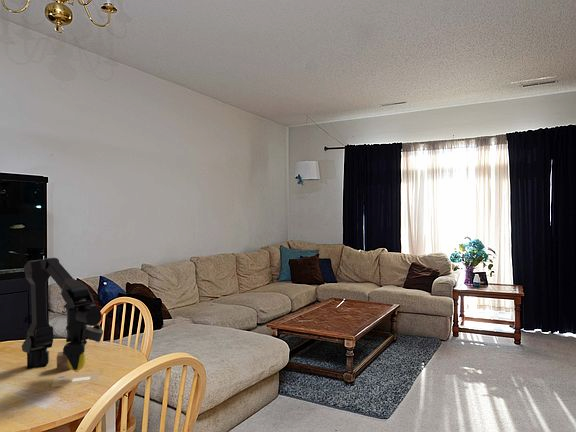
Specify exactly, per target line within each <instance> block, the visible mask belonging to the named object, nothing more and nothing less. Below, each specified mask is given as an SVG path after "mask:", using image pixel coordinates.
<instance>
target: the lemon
mask: <svg viewBox="0 0 576 432" xmlns="http://www.w3.org/2000/svg"><path fill="white" fill-rule="evenodd" d="M85 365H86V355H85V352H84V353H82V354H81V355H80V358H79V364H78V369H77V370H74V369H73V367H72V366H71V364H70V362H69V360H68V366H69V368H70V369H71V370H70V371H73V372H75V373H79V371H81V370H82V369H83V368H84V366H85Z"/></svg>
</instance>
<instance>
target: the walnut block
mask: <svg viewBox="0 0 576 432" xmlns="http://www.w3.org/2000/svg"><path fill="white" fill-rule="evenodd" d="M65 371H72V370H71V369H70V368H69V366H68V358H67V356H66V355H63V351H59V352H57V354H56V372H57V373H58V372H65Z"/></svg>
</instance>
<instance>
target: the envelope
mask: <svg viewBox="0 0 576 432" xmlns="http://www.w3.org/2000/svg"><path fill="white" fill-rule="evenodd" d="M99 377H100V370H94V371H88V372H87V371H85V372H76V373H70V374H63V375H56V376H55V378H54V380H53V383H52V385H51V387H52V388H55V387H62V386H71V385H78V384H85V383H91V382H99V379H100V378H99Z"/></svg>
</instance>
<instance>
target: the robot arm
mask: <svg viewBox="0 0 576 432" xmlns="http://www.w3.org/2000/svg"><path fill="white" fill-rule="evenodd" d="M23 272H24V275H25V279H26V280H27V281H28V283H29V284H30V299H31V302H30V303H31V304H30V305H31V324H30V326H29V328H28V329H27V332H26V338H25V340H24V341H23V343H22V345H21V349H22V352H23V353H26V367H25V370H29V369H30V370H31V369H38V368H39V369H41V368H45V367H47V365H49V362H50V351H49V350H48V349H50V348H53V343H54V337H55V335H54V327H53V325H50V323H49V322H48V311H47V310H48V309H47V282H48V280H49V279H50V277H51V279H53V281H54V282H55V283H56V284H57V285H58V287H59V288H60V289H61V291H60V295H61V297H62V299H63V300H64V302H65V304H64V305H63V308H64V309H66V328H65V331H66V339H65V343H66V344H65V345H64V346H63V348H62V352H63V355H66V356H67V358H68V360H69V362H70V364H71V366H72V367H73V369H74V370H77V369H78V364H79V358H80V355H81V354H82V353H84V354H85V352H86V351H85V350H86V345H87V343H88V341H87V340H89V341H90V340H91V341H94V342H96V343H99V342H101V340H102V336H103V334H104V330H103V329H102V328H101V325H100V324H99V323H100V322H101V321H102V318H103V314H102V312H101V310H100V309H99V308H97V305H96V304H95V301H94V297H93V295H92V293H91V292H90V289H89V288H88V286H87V285H86V284H85V283H83V282H82V281H80V280H77V279H75V278H74V277H73V276H72V275H71V274H70V273H69V272H68V271H67V269H65V267H64V266H63V265H62V264H61V262H60V259H59V258H58V257H47V258H46V257H45V258H43V259H36V260H28V261H27V262H26V264H24V266H23Z"/></svg>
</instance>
